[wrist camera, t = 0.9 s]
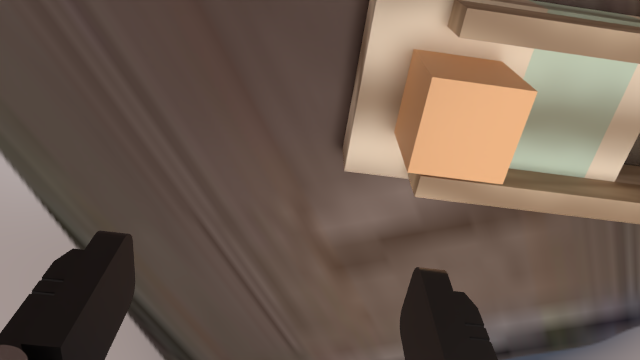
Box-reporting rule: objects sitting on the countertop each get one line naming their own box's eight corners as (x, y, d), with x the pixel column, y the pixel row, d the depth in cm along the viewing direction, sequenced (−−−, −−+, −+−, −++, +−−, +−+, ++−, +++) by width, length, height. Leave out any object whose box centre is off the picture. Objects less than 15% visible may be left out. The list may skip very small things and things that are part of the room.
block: (413, 48, 26) (432, 76, 22) (502, 61, 27) (537, 91, 22) (394, 132, 29) (407, 172, 24) (475, 142, 29) (502, 184, 25)
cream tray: (373, -24, 27) (386, -8, 22) (755, 34, 29) (851, 62, 24) (342, 149, 33) (346, 196, 27) (665, 190, 34) (727, 241, 29)
